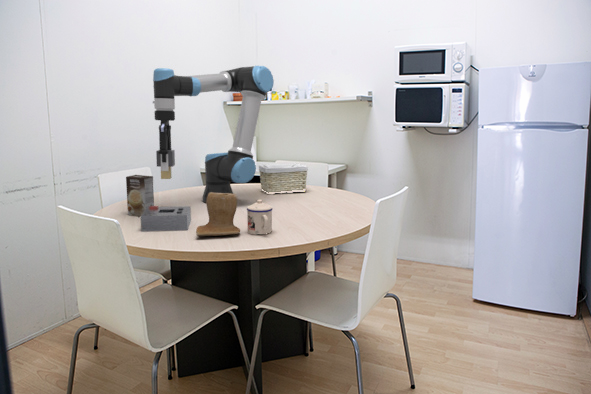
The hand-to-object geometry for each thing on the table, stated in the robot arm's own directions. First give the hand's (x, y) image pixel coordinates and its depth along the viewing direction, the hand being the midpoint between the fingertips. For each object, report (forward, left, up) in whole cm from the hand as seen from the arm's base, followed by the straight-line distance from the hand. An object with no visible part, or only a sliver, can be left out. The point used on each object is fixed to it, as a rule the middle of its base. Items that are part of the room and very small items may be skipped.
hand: (166, 169), depth 179 cm
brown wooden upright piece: (-20, +28, -20) cm, 40 cm away
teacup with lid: (-35, +28, -20) cm, 49 cm away
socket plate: (-1, +13, -19) cm, 23 cm away
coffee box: (+12, -7, -20) cm, 24 cm away
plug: (0, 0, -3) cm, 3 cm away
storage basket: (-53, -58, -20) cm, 81 cm away
